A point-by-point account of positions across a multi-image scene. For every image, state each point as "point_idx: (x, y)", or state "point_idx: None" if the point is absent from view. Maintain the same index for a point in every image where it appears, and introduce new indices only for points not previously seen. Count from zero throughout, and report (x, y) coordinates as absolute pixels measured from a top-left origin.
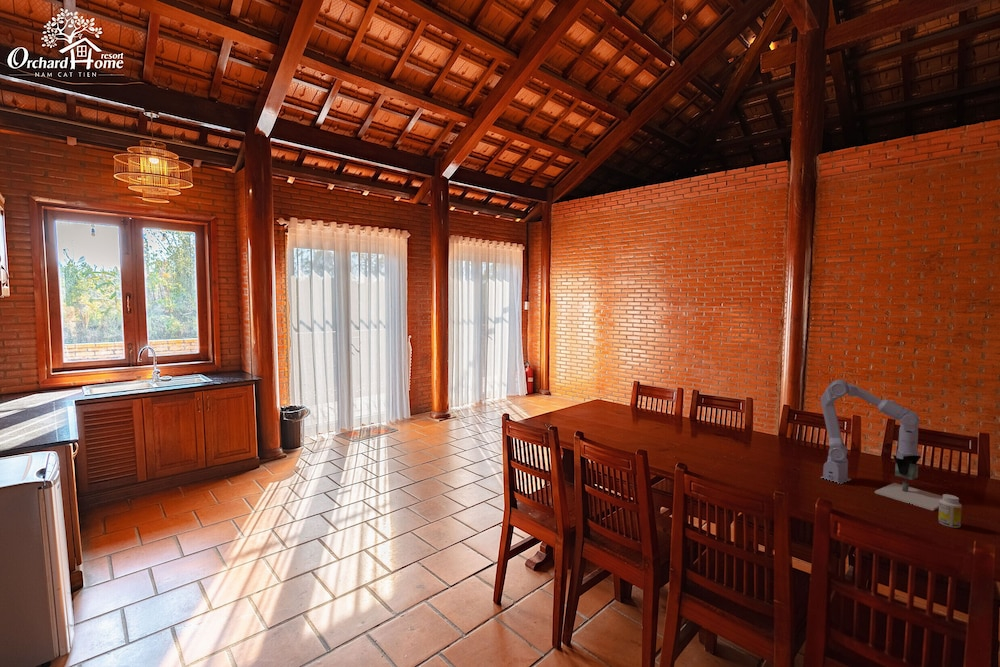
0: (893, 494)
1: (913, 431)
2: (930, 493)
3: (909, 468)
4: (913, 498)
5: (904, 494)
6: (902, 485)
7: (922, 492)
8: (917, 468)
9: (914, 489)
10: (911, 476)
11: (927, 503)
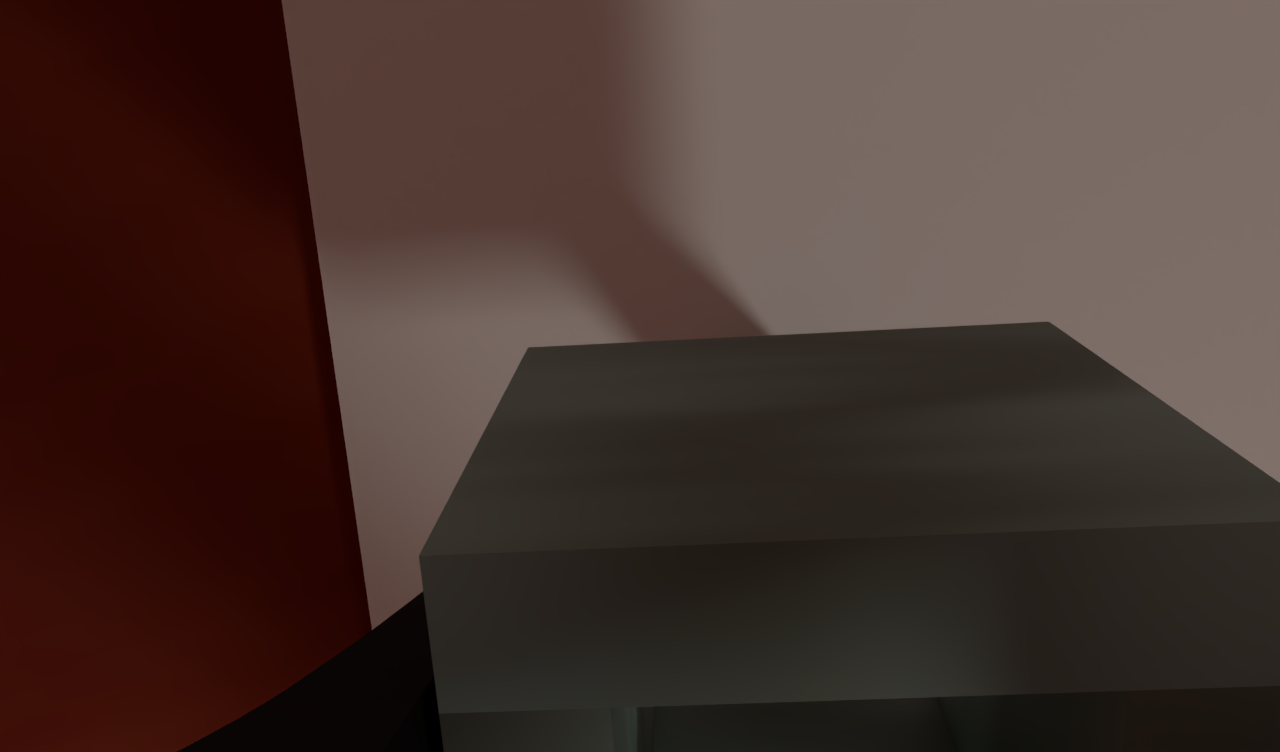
0: (1268, 425)
1: None
2: (352, 50)
3: (1273, 607)
4: (1149, 90)
5: (1031, 310)
6: (414, 579)
7: (465, 174)
8: (530, 479)
9: (428, 349)
10: (1093, 372)
11: None
